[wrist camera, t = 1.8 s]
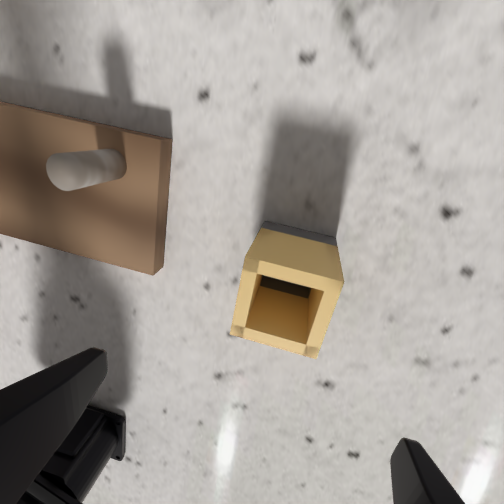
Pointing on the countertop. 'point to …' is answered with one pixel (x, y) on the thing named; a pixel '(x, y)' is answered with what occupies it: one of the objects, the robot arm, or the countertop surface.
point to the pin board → (84, 187)
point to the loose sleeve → (288, 289)
